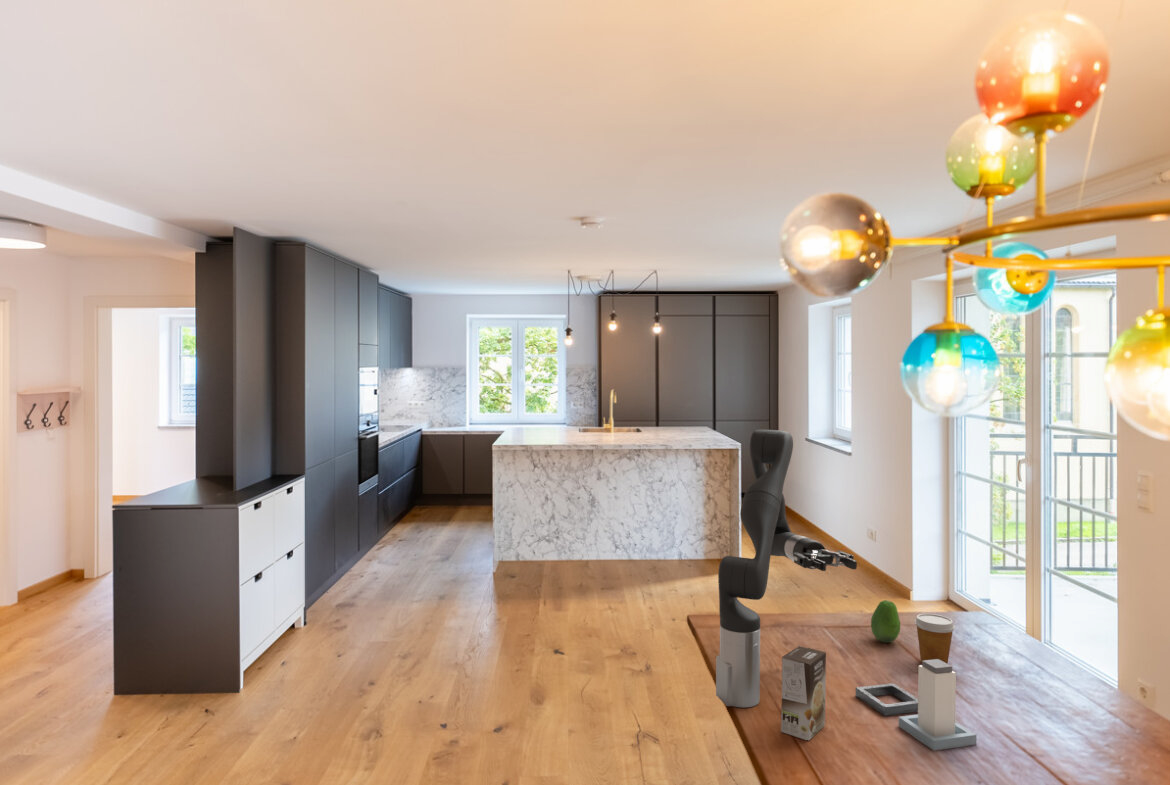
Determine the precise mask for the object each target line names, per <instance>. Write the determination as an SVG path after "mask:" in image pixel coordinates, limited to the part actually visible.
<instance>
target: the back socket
mask: <svg viewBox="0 0 1170 785" xmlns="http://www.w3.org/2000/svg"><path fill="white" fill-rule="evenodd" d="M886 695H892V696H894V697H896V698H897V699H899V700H901V702H893V703H884V702H883V701H881V700H880V699H878V698H877V697H880V696H886ZM855 697H856V698H858V699H859V700H861V701H862V702H863V703H865V704H867V705H868V706H869V707H871V708H872V709H873V710H876V712H878V713H879V714H881V715H882V716H884V717H889V716H896V715H897V716H898V715H904V714H911V713H918V697H917V696H915V695H913V694H912V693H910V692H908V691H907V690H905V689H904V688H902V687H900V686H899V685H897V684H895V683H894V682H891V683H884V684H883V683H882V684H873V685H867V686H858V687H857V686H856V687H855Z"/></svg>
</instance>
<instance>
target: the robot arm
mask: <svg viewBox="0 0 1170 785" xmlns="http://www.w3.org/2000/svg"><path fill="white" fill-rule="evenodd" d="M749 440H750V441H749V455H750V460H751V461H750V462H751V465H752V471H753V474H754V479H755V481H754V482H752V483H751V484H750V485H749V486H748V488H747V489H746V490H745V492H744V495H743V499H742V504H741V509H740V520H741V523H742V525H743V527H744V529H745V531H746V532H747V534H748V536H749V538H750V540H751V541H752V546H753V547H754V551H755V555H754V557H753V558H748V557H741V556H740V557H739V556H733V555H726V556H724V557H722V559H721V560H720V563H719V565H718V575H717V576H718V578H717V579H718V598H719V600H718V601H719V602H718V604H719V605H718V606H719V607H718V608H719V609H718V610H719V654H718V655H716V657H715V658H716V659H715V663H716V664H715V665H716V666H715V669H716V670H715V696H716V697H718V699H719V700H720V701H721V702H722V703H723V704H724V705H725V706H726V707H736V708H753V707H755V706H757V705H758V704H759V703H760V694H761V693H760V692H761V691H760V690H761V689H760V688H761V687H760V686H761V685H760V684H761V683H760V682H761V681H760V678H761V675H760V673H761V671H760V670H761V669H760V668H761V663H760V662H761V617H760V615H759V613H757V612H756V611H755V610H753V609H751V608H749V607H747V606H746V605H744V604H743V603H742V602H741V601H740V600H739V599H746V600H753V601H758V600H759V601H760V600H761V599H763V597H764V596H765V593H766V590H767V588H768V587H767V585H768V580H769V572H770V562H771V557H772V556H773V557H784V558H787V559H789V560H791V561H792V562H793V563H794V564H796V565H798V566H800V567H802V568H804V569H809V570H815V569H818V570H819V571H821V572H826V570H827V567H828V566H831V567H839V566H842V567H846V568H849V569H850V570H851V569H852V570H857V567H858V561H857V560H855V559H854V556H855V555H853V554H850V553H847V552H845V551H841V550H836V551H831V550H829V549H826V548H825V546H824V545H823V543H821V542H819V541H818V540H815V539H812V538H810V537H807V536H803V535H799V534H796V533H794V532H792V530H791V528H790V526H789V522H788V520H787V516H786V500H785V496H784V493H783V491H784V484H785V479H786V477H787V473H788V469H789V466H790V463H791V458H792V454H793V450H794V440H793V436H792V434H791V433H790V432H789V431H786V430H778V429H777V430H775V429H755V430H753V431H752V434H751V436H750V439H749ZM766 464H767V465H768V464H770V465H771V466H770V467H769V468H767V467H766ZM834 560H835V563H834ZM738 598H739V599H738Z"/></svg>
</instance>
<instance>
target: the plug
mask: <svg viewBox="0 0 1170 785" xmlns="http://www.w3.org/2000/svg"><path fill="white" fill-rule="evenodd" d="M956 680H957V672H955V671H953V666H952V665H950V664H949V663H948V664H947V663H945V662H943V661H941V660H939V659H934V660H924V661H922V663H921V664H920V665H918V680H917V681H918V682H917V683H918V686H917V689H918V690H917V693H918V694H917V698H918V712H917V714H918V726H919V727H920V728H922V729H923V730H925V731H926V732H928V733H929V734H930V735H932V736H933V737H939V736H946V735H954V734H955V722H956V703H957V702H956V699H957V697H956V696H957V695H956V694H957V693H956V692H957V690H956V689H957V688H956V686H957V681H956Z"/></svg>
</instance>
